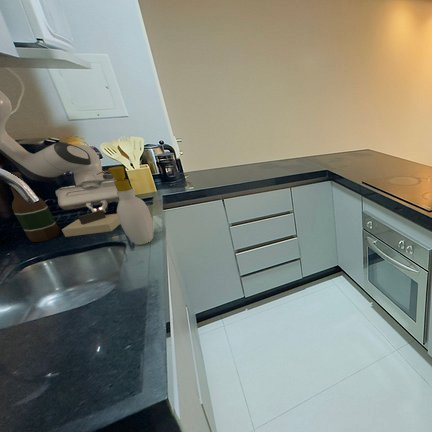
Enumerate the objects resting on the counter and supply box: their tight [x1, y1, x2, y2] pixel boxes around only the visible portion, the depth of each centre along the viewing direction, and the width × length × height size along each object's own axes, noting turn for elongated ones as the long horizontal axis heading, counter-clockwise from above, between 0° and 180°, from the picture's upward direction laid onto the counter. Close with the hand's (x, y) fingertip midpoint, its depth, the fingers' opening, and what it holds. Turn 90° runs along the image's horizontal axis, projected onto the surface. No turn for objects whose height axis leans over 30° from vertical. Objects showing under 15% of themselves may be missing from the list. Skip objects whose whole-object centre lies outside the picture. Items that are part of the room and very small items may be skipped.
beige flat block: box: [61, 213, 121, 238], centre depth 112 cm, size 14×11×3 cm
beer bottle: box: [9, 171, 61, 243], centre depth 101 cm, size 8×8×24 cm
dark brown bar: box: [77, 209, 106, 225], centre depth 111 cm, size 7×1×3 cm, turn 155°
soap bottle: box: [97, 165, 154, 246], centre depth 98 cm, size 14×9×26 cm, turn 34°
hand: (99, 212), depth 114 cm, fingers closed
